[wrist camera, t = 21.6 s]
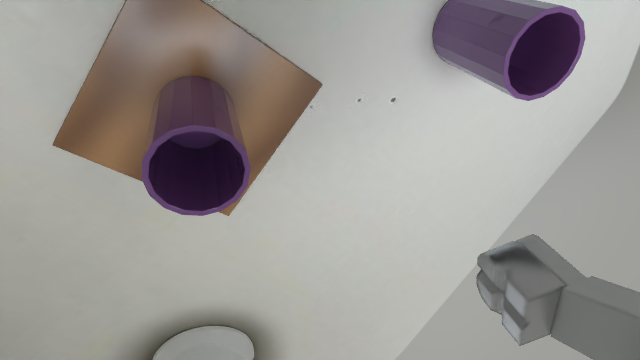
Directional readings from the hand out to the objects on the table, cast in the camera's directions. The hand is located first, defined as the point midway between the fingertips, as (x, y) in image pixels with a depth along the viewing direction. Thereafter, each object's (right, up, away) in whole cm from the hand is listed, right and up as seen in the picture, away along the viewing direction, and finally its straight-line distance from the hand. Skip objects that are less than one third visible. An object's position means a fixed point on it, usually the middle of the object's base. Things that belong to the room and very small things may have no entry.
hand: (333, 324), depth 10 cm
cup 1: (-11, +9, +23) cm, 27 cm away
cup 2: (+13, +18, +27) cm, 34 cm away
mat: (-11, +9, +24) cm, 28 cm away
